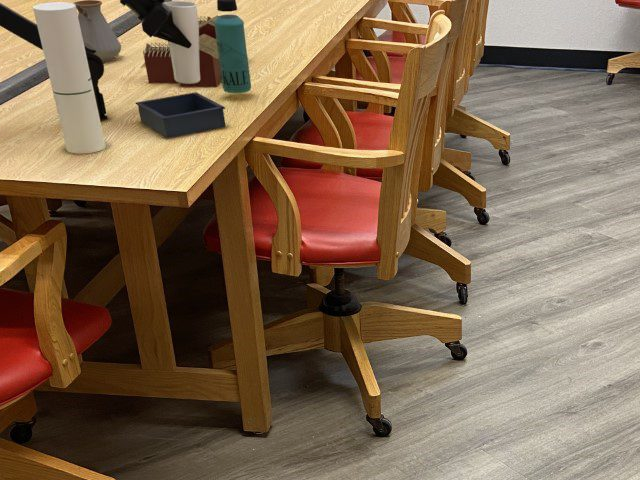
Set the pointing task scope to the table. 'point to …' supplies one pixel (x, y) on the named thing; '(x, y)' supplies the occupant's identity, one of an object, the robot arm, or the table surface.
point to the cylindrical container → (69, 76)
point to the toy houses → (210, 70)
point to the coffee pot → (97, 30)
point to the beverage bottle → (232, 49)
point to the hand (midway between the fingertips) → (189, 42)
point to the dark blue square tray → (181, 114)
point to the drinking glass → (187, 22)
